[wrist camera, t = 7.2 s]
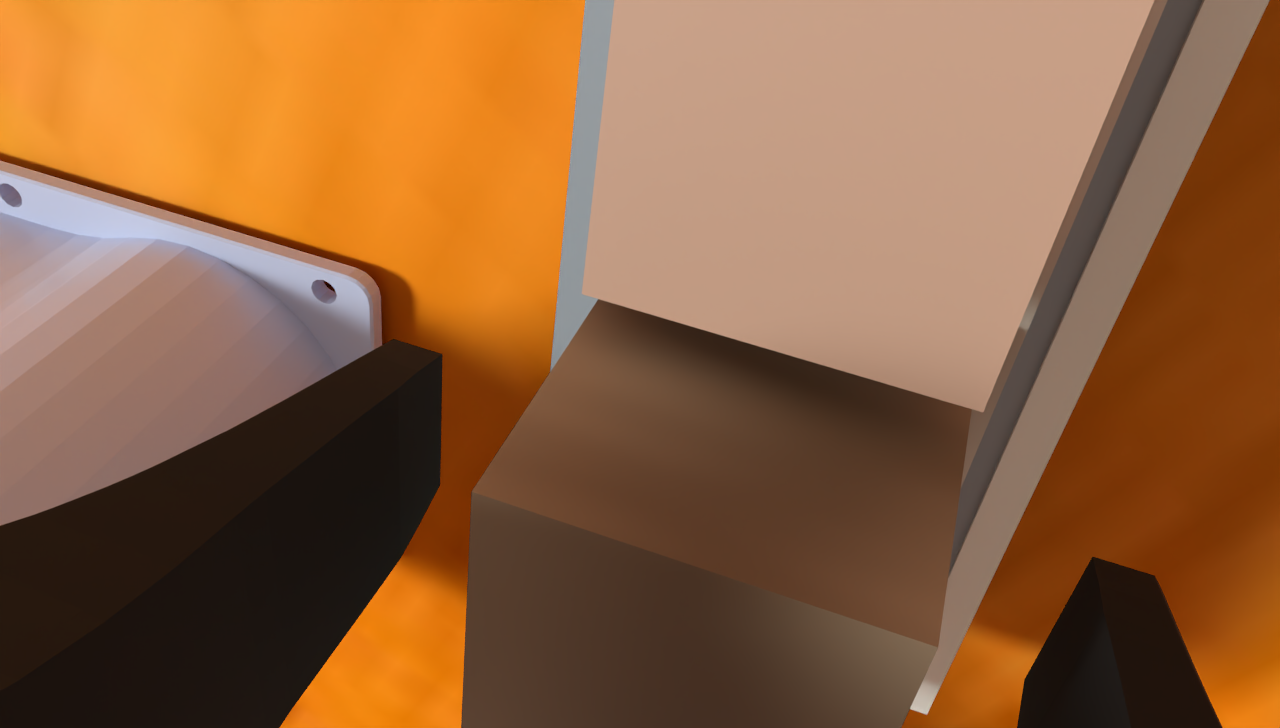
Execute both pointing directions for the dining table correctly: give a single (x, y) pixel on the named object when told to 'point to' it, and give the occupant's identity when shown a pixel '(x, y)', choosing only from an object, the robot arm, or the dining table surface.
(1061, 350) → the dock
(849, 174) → the block
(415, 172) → the dining table surface
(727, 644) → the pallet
